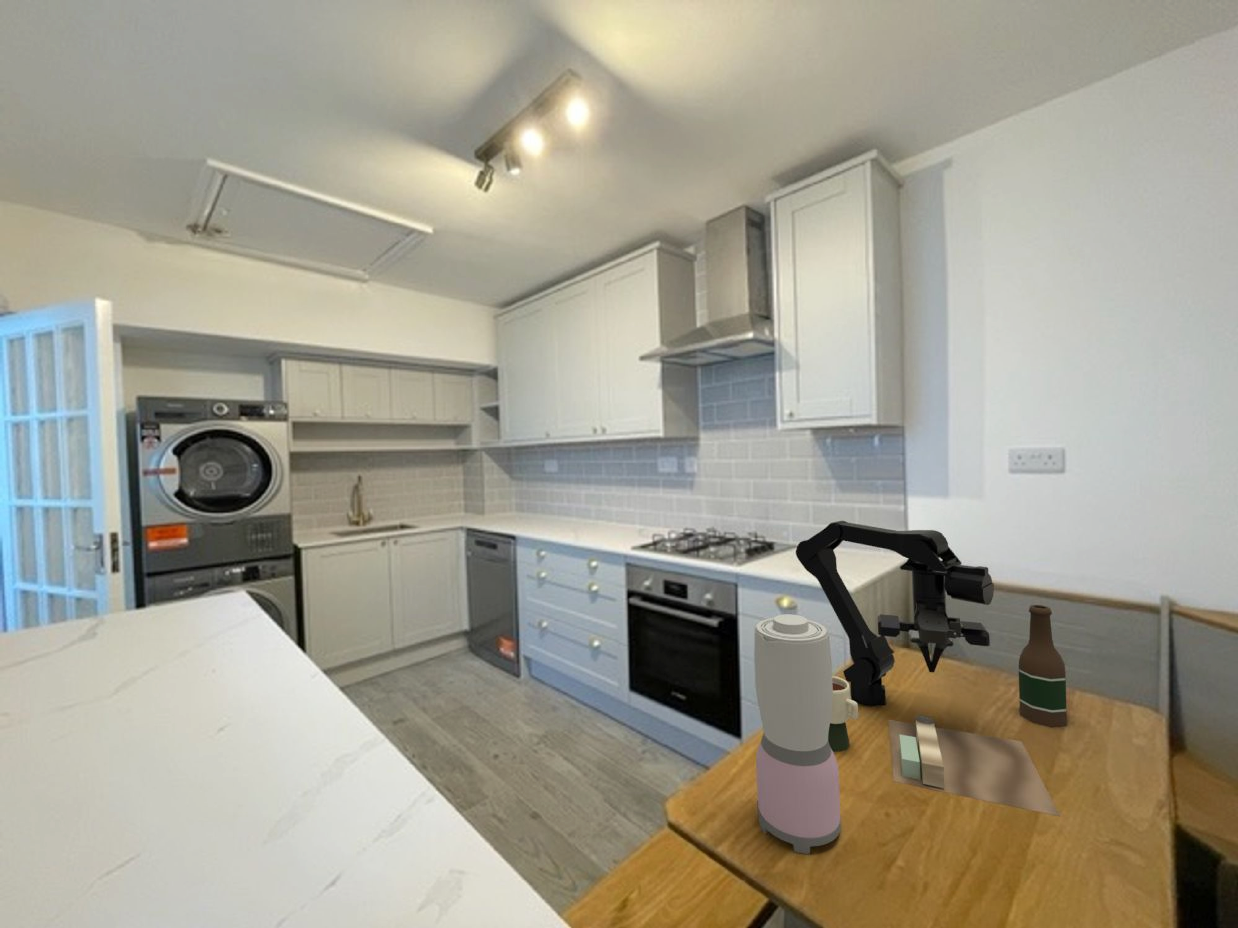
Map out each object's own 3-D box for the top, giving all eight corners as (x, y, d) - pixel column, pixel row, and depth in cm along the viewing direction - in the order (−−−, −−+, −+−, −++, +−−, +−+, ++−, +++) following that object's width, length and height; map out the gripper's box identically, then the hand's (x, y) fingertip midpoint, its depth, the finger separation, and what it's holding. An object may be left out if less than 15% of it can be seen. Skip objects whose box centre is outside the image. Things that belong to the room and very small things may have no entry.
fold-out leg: (914, 731, 99) (914, 714, 99) (934, 735, 98) (933, 717, 98) (922, 783, 85) (921, 762, 84) (945, 788, 83) (944, 767, 83)
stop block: (902, 775, 87) (902, 758, 87) (899, 750, 94) (899, 734, 94) (920, 779, 86) (919, 762, 86) (916, 753, 93) (915, 737, 93)
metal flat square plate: (893, 789, 86) (893, 780, 86) (888, 726, 105) (888, 719, 105) (1060, 825, 76) (1060, 815, 76) (1021, 749, 95) (1021, 741, 95)
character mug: (870, 755, 96) (867, 687, 95) (848, 770, 91) (846, 699, 91) (817, 731, 104) (815, 668, 104) (796, 743, 100) (793, 678, 100)
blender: (815, 869, 71) (807, 640, 70) (741, 824, 80) (732, 621, 79) (864, 812, 81) (857, 612, 80) (794, 778, 90) (787, 598, 89)
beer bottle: (1057, 717, 105) (1054, 601, 105) (1077, 737, 98) (1073, 613, 97) (1012, 712, 108) (1009, 600, 107) (1028, 732, 101) (1024, 611, 100)
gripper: (877, 601, 99) (880, 681, 99) (995, 610, 91) (997, 697, 91) (876, 586, 109) (878, 659, 109) (982, 593, 101) (984, 672, 101)
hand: (931, 671), depth 102 cm, fingers closed
